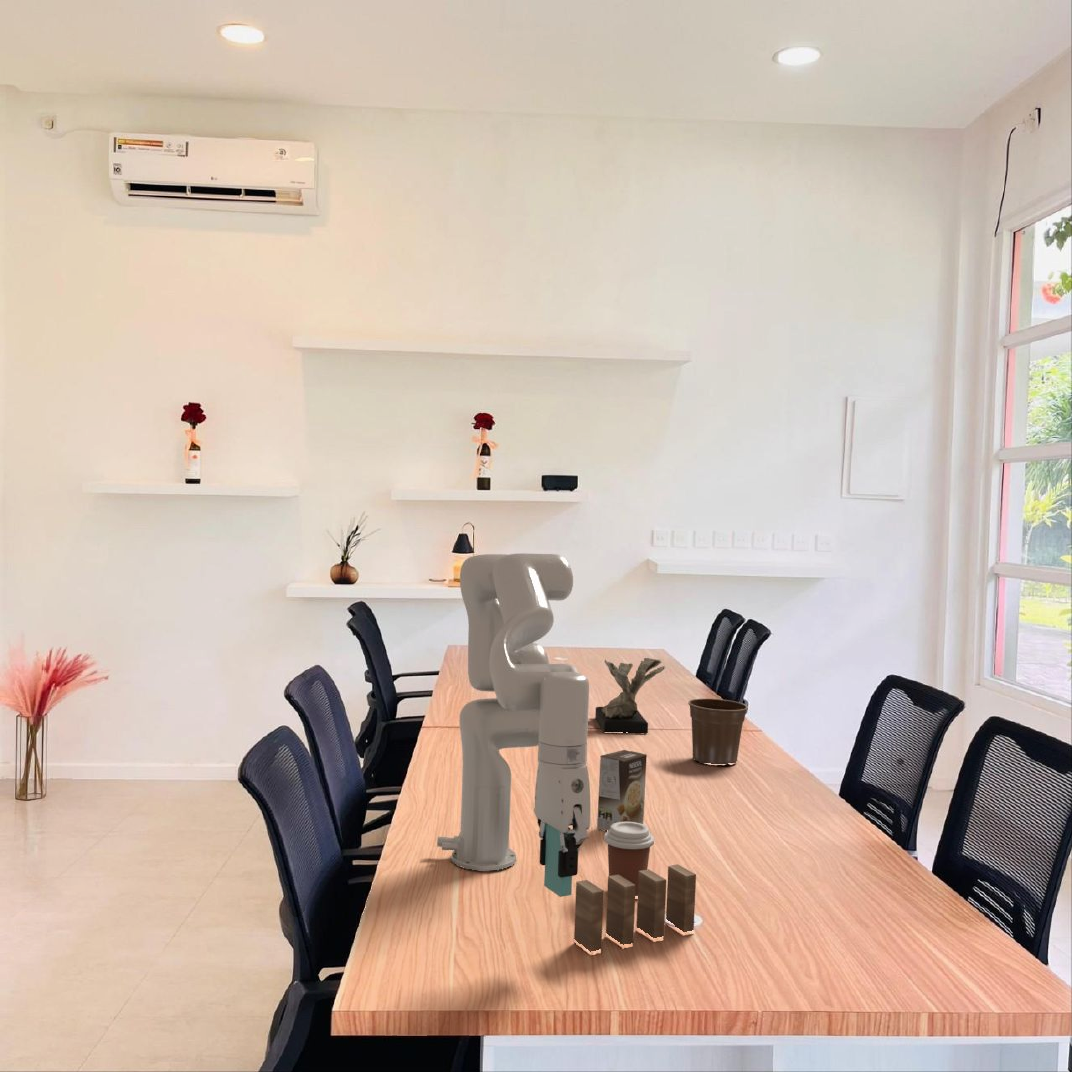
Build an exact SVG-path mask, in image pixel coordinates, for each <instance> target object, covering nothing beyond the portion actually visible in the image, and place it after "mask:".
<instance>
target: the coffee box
mask: <svg viewBox="0 0 1072 1072" xmlns="http://www.w3.org/2000/svg"><path fill="white" fill-rule="evenodd" d="M647 756H648V755H647V754H646V753H642V752H639V751H638V752H637V751H633V750H631V751H630V750H627V749H623V750H618V751H613V752H610V753H605V754H602V755H600V758H599V760H600V762H599V776H598V777H599V779H598V780H599V781H598V801H597V820H596V821H597V822H596V829H597V830H599V829H601V830H600V831H603V830H608V831H609V830H610V826H611V825H612V824H614V823H617V822H636V823H640V824H643V825H644V817H645V816H644V813H645V794H646V780H647V779H646V777H647V776H646V775H647Z"/></svg>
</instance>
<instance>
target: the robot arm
mask: <svg viewBox="0 0 1072 1072" xmlns="http://www.w3.org/2000/svg"><path fill="white" fill-rule="evenodd" d="M573 587H574V576H573V570H572V568H571V565H570V563H569V561H568V560H567V559H566V558H565V557H564V556H562V555H560V554H558V553H557V554H555V553H526V552H525V553H510V554H505V553H504V554H503V553H502V554H501V553H497V554H496V553H495V554H494V553H491V554H487V553H486V554H476V555H473V556H470V557H468V558H466V559H465V560H464V561H463V562H462V565H461V567H460V573H459V588H460V594H461V596H462V597H461V598H462V601H463V604H464V606H465V610H466V615H467V620H468V633H467V634H468V635H467V636H468V638H467V641H468V645H467V675H468V681H469V684H470V686H471V687H472V688H473V689H474V690H476V691H479V692H494V694H495V696H496V698H495V697H494V698H480V699H474V700H471V701H469V702H467V703H466V704H465V705H464V706H463V707H462V708H461V711H460V713H459V720H458V721H459V731H460V740H461V741H460V742H461V751H462V753H461V754H462V769H461V770H462V776H461V778H462V779H461V805H460V806H461V808H460V831H459V834H458V835H453V837H448V836H437V843H436V846H437V847H438V848H439V847H440V848H441V850H442V851H452V852H451V862H452V861H453V862H454V863H455V864H456V866H457V867H459V866H462V867H464V868H467V869H466V870H468V869H472V870H471V871H474V870H478V871H477V872H481V871H480V870H484V871H483V872H490V871H489V870H497V871H499V870H498V869H502V868H506V867H508V866H511V867H513V866H514V865H515V864H516V862H517V854H516V852H515V851H514V850H512V849H511V848H509V845H510V821H511V819H510V818H511V796H512V795H511V793H512V770H511V767H510V765H509V763H508V762H507V761H506V759H505V758H504V757H503V756H502V754H501V753H500V750H503V749H513V748H515V749H516V748H517V749H518V748H532V747H538V748H537V750H538V752H537V769H536V770H537V771H536V777H535V786H534V787H535V789H534V809H533V812H534V815H535V817H536V820H537V825H538V828H539V830H538V836H539V838H540V840H539V865H541V866H545V854H546V826H547V824H548V825H550V826H552V827H553V828H555V829H557V830H559V831H560V841H561V851H559V854H558V876H559V877H561V878H563V877H569V876H572V877H573V876H577V875H578V873H579V872H578V870H579V868H578V867H579V865H578V864H579V851H580V850H581V846H582V844H584V842H585V841H586V840H587V839H588V838H589V834H588V830H589V829H590V827H591V814H592V813H591V787H590V783H591V782H590V775H589V768H588V765H587V761H588V759H587V756H588V732H589V731H588V728H589V727H588V726H589V725H588V724H589V706H590V705H589V704H590V703H589V701H590V682H589V679H588V677H587V676H586V675H584V674H582V673H580V672H579V670H578V669H577V668H576V666H574V665H572V664H567V663H550V662H549V661H550V660H549V657H548V654H547V652H546V649H545V648H544V647H543V646H542V645H541V644H539V643H536V642H537V641H539V640H541V639H543V638H544V637H545V636H546V635H547V634H548V633H549V632H550V631H551V629H552V627H553V625H554V622H555V620H554V613H553V610H552V607H551V604H550V601H555V602H556V601H564V600H566V599H567V598H569V597H570V595H571V593H572V590H573ZM570 826H572V828H571V829H568V827H570ZM567 834H573V837H571V838H570V839H569V840H568V841H567ZM453 862H452V863H453ZM454 863H453V864H454ZM514 863H515V864H514ZM455 864H454V865H455ZM513 864H514V865H513ZM464 868H463V869H464ZM506 869H507V868H506ZM502 870H503V869H502Z"/></svg>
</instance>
